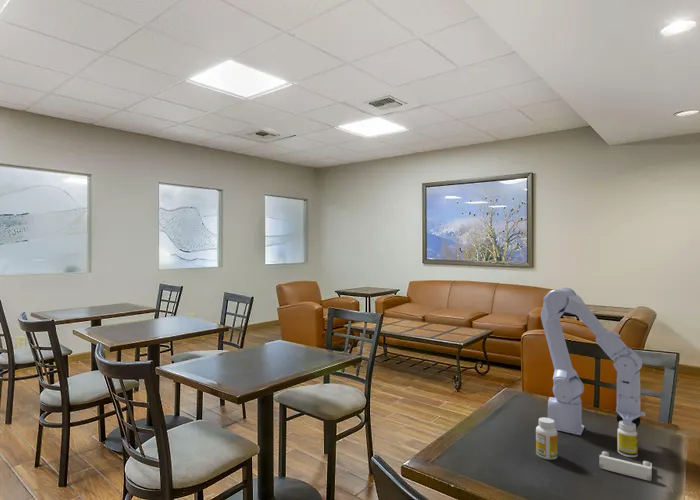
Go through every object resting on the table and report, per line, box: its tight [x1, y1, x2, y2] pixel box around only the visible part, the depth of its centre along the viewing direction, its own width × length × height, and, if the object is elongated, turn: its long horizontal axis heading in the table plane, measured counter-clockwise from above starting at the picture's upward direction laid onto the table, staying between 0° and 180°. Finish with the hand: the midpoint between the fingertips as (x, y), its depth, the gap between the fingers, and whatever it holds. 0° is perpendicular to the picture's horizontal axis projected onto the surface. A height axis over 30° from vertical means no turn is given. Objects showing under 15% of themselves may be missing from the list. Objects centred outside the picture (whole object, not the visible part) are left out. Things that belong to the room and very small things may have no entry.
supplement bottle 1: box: [535, 417, 558, 460], centre depth 117 cm, size 5×5×10 cm
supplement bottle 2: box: [616, 421, 639, 458], centre depth 118 cm, size 5×5×8 cm
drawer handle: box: [598, 450, 653, 482], centre depth 110 cm, size 11×8×3 cm
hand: (628, 442), depth 123 cm, fingers closed
